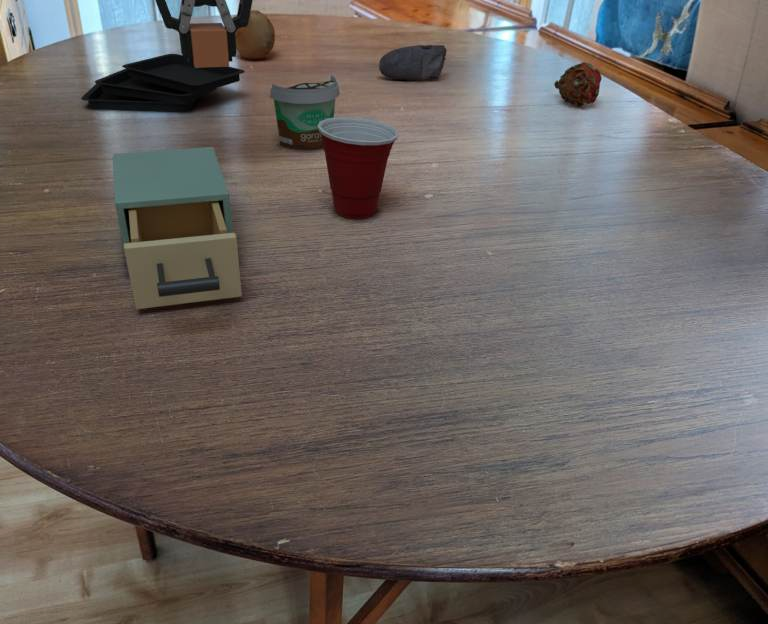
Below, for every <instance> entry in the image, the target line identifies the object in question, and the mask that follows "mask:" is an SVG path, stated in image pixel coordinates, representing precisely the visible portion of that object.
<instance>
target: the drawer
mask: <svg viewBox="0 0 768 624" xmlns="http://www.w3.org/2000/svg"><path fill="white" fill-rule="evenodd" d="M129 221H130V235H131V243H124V247H123V251H125V252H124V257H125V256H126V257H125V262H126V261H127V262H126V266H128V268H127V272H128V271H129V273H128V275H129V276H128V277H129V280H130V286H131V291H132V295H133V296H132V297H133V301H134V307H135V310H142V309H149V308H158V307H166V306H174V305H184V304H192V303H199V302H209V301H217V300H224V299H232V298H233V299H234V298H240V297H242V296H243V293H242V282H241V281H242V280H241V272H240V270H241V269H240V261H239V260H240V259H239V251H238V248H239V247H238V238H237V234H236V232H233V233H227V229H226V225H225V222H224V219H223V216H222V212H221V209H220V206H219V203H218V201H209V202H197V203H186V204H174V205H162V206H151V207H139V208H129Z"/></svg>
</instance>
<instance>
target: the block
mask: <svg viewBox="0 0 768 624" xmlns="http://www.w3.org/2000/svg"><path fill="white" fill-rule="evenodd" d="M189 32H190V34H191V42H192V52H193V61H194V63H193V64H194V67H195V68H207V67H230V62H229V56H228V44H227V31H226V29H225V28H224V24H223V22H200V23H199V22H197V23H193V22H190V25H189Z"/></svg>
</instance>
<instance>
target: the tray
mask: <svg viewBox="0 0 768 624" xmlns="http://www.w3.org/2000/svg"><path fill="white" fill-rule="evenodd" d="M121 66H122V68H123V69H120V70H118V71H116V72H113V73H110V74H109V75H105V76H103V77H101V78H98V79H96V80H95V81H94V85H93V86H92V87H91V88H90V89H88V91H87V92H85V93H84V95H83V96H82V97H81V101H86V102H88V106H89V109H90V110H102V111H103V110H105V111H106V110H108V111H132V112H133V111H135V112H136V111H138V112H165V113H166V112H168V113H169V112H170V113H185V112H189V111H190V110H191V108H192V107H193V105H194V103H195V102H196V101H197V100H198V99H200V98H202V97H204V96H206V95H207V94H211V92H214V91H215V90H217V89H219V88H222V87H225V86H228V85H231V84H234V83H238V82H240V81H241V78H240V77H241V76H240V75H241V74H244V73H245V72H246V71H245V70H244V69H242V68H237V67H233V66H229V67H207V68H195V67H194V64H193V63H188V60H187V59H184V57H183V55H182V54H179V53H166V54H163V55H158V56H154V57H150V58H146V59H142V60H137V61H134V62H133V61H132V62H129V63H126V64H123V65H121Z"/></svg>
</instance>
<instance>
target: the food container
mask: <svg viewBox="0 0 768 624" xmlns="http://www.w3.org/2000/svg"><path fill="white" fill-rule="evenodd" d="M329 79H330V80H327V81H321V82H301V83H298V84H295V85H293V86H289V87H283V86H280V85H279V86H278V85H275V84H273V83H272V84H271V88H270V93H269V99H272V100H273V106H274V110H275V111H274V112H275V118H276V123H277V124H276V125H277V132H278V139H279V145H280V146H282V147H284V148H288V149H290V150H298V151H314V150H321V149H324V147H323V142H322V136H321V133H320V131H319V130H318V124H319V122H320V121H323V120H325V119H328V118H335V107H336V99H337V98H338V97H340V94H341V93H340V88H339V87H340V86H339V83H338V81H337V78H336V77H335V76H334V75H331V74H330V78H329Z"/></svg>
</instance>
